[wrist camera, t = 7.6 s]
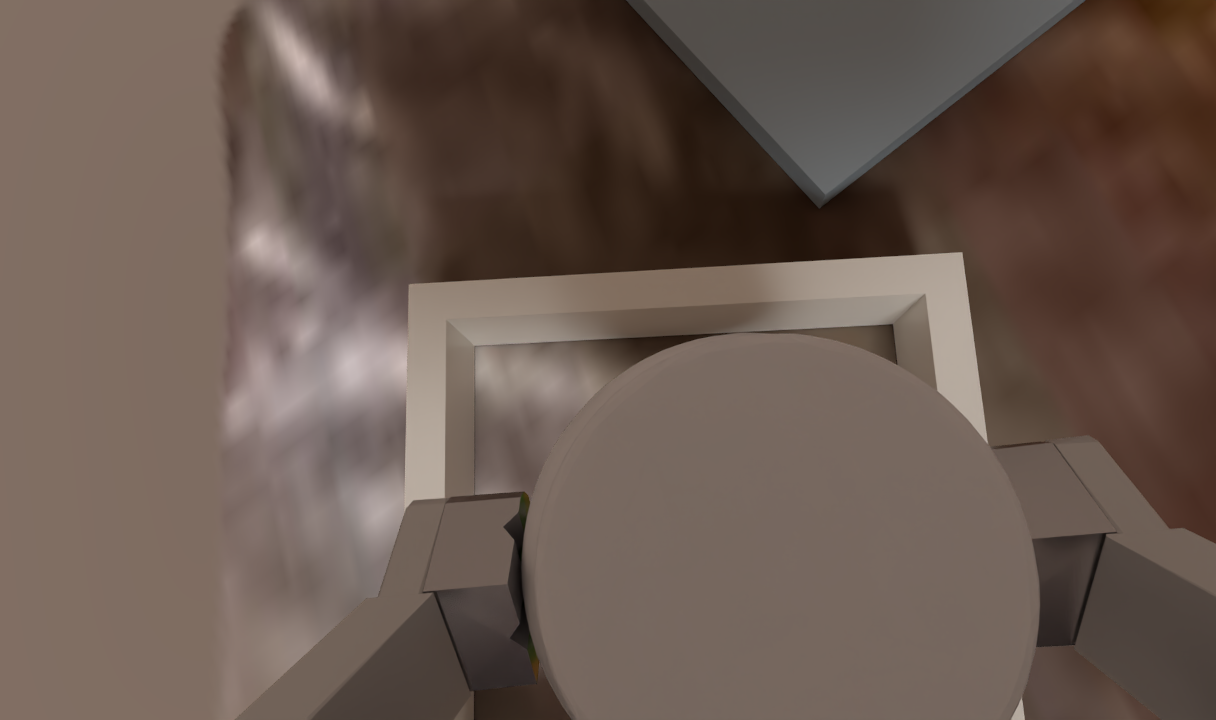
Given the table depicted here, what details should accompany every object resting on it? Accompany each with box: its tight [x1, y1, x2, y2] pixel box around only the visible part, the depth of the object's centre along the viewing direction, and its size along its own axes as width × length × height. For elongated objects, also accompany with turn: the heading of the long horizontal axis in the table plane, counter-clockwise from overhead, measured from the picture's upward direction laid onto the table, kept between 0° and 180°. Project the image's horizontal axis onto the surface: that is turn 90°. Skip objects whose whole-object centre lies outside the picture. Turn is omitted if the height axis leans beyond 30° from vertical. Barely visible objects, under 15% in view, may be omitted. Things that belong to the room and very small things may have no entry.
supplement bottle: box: [521, 333, 1040, 720], centre depth 11 cm, size 5×5×10 cm
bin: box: [404, 252, 1025, 720], centre depth 20 cm, size 14×14×3 cm
